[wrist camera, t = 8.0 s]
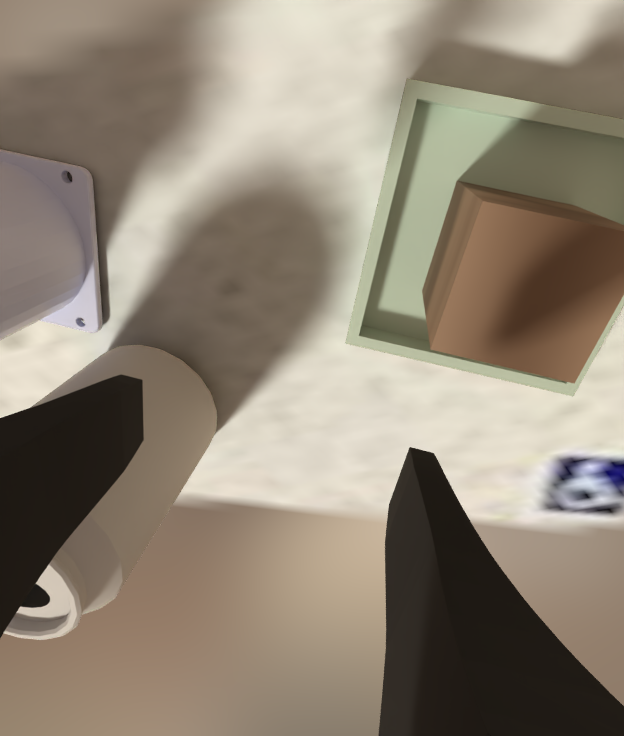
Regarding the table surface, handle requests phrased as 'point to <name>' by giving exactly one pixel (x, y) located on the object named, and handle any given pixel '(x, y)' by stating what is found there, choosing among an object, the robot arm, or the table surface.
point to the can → (123, 490)
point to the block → (522, 281)
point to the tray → (481, 167)
